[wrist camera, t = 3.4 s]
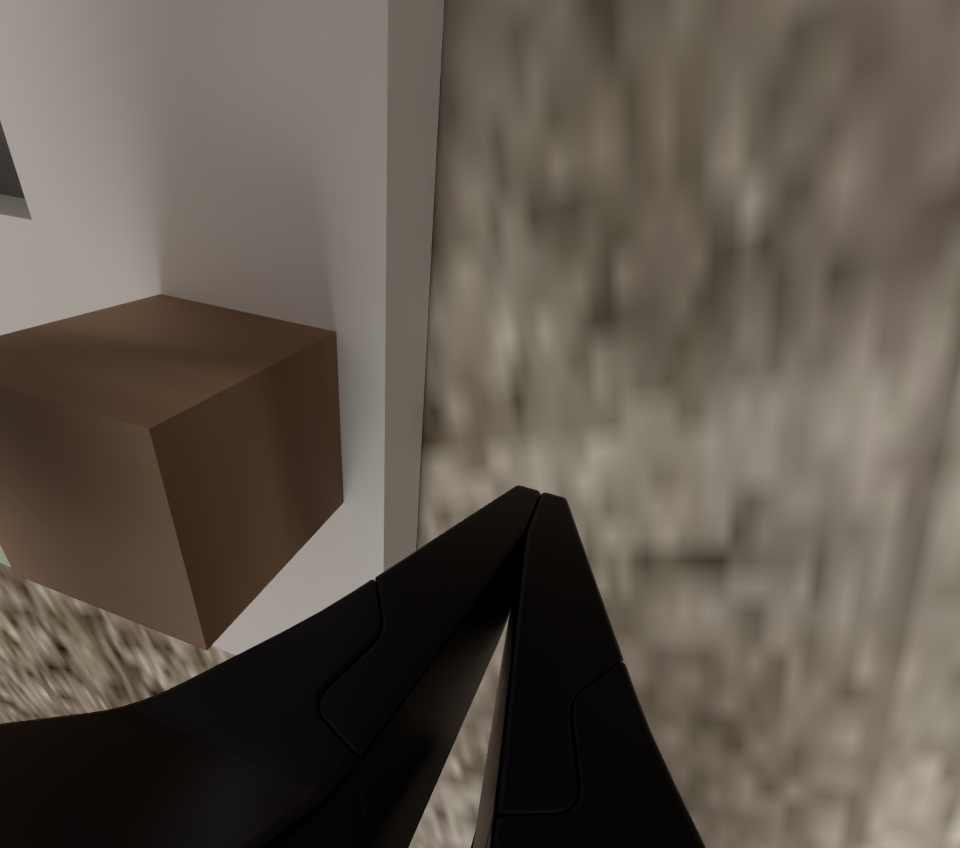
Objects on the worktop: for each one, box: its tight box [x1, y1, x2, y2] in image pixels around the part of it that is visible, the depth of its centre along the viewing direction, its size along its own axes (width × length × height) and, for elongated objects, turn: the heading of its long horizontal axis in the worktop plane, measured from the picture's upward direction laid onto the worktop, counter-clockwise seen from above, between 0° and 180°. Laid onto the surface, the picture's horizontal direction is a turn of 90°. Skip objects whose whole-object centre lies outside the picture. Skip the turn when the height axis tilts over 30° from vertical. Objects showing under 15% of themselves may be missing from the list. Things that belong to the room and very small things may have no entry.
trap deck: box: [0, 0, 444, 655], centre depth 13 cm, size 20×19×2 cm
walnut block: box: [0, 294, 344, 650], centre depth 9 cm, size 4×4×4 cm
